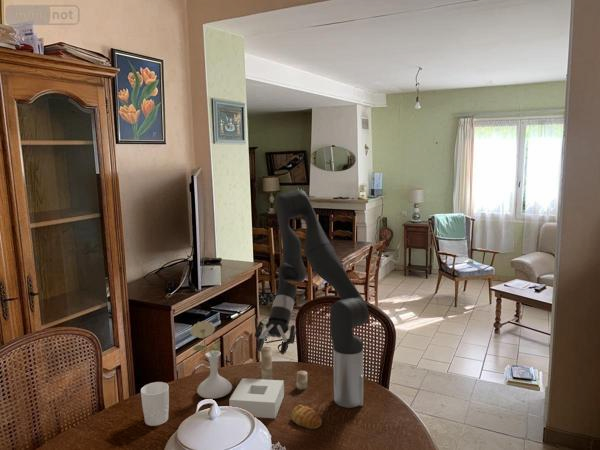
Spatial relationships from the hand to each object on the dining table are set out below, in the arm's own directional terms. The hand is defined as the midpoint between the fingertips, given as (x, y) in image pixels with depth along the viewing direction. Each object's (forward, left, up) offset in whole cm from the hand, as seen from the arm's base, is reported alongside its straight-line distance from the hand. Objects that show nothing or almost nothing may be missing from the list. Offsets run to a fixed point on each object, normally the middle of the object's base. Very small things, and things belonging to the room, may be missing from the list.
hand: (270, 352), depth 157 cm
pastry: (-16, +23, -11) cm, 30 cm away
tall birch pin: (+1, +3, -10) cm, 11 cm away
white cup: (+29, +28, -11) cm, 42 cm away
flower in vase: (+17, +11, -11) cm, 23 cm away
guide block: (+1, +16, -10) cm, 19 cm away
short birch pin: (-11, +3, -10) cm, 16 cm away
